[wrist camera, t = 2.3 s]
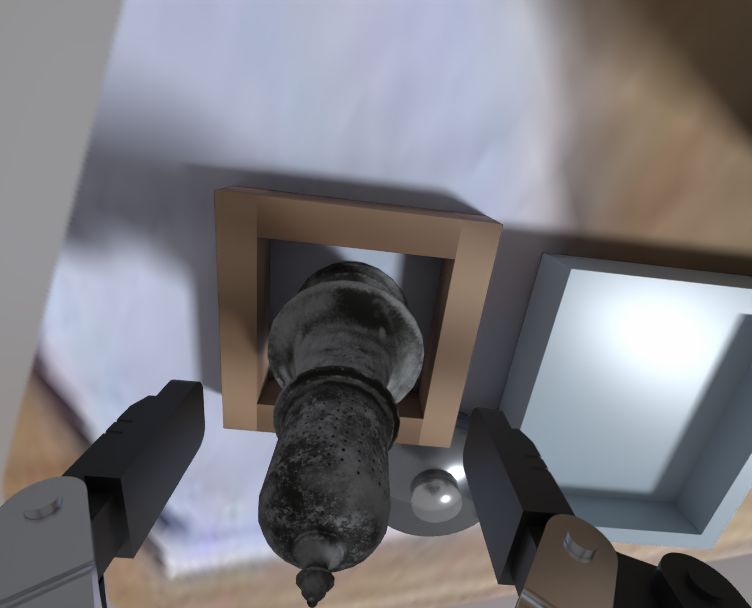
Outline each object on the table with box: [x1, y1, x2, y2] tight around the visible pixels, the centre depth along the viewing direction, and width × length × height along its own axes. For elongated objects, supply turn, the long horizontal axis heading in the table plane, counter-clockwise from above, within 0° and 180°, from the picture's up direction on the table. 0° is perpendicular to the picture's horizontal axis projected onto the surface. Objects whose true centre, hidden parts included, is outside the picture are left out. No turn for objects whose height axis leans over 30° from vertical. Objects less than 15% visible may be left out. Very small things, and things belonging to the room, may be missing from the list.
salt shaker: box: [258, 262, 424, 608], centre depth 12 cm, size 6×6×12 cm
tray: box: [498, 253, 752, 550], centre depth 18 cm, size 14×12×2 cm
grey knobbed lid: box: [388, 412, 479, 536], centre depth 19 cm, size 7×7×3 cm
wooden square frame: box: [214, 186, 503, 448], centre depth 16 cm, size 10×10×2 cm
